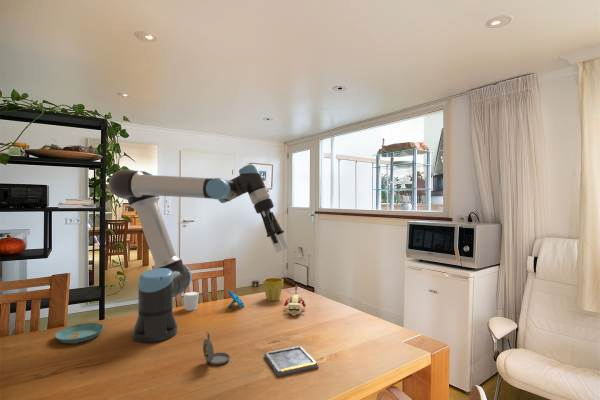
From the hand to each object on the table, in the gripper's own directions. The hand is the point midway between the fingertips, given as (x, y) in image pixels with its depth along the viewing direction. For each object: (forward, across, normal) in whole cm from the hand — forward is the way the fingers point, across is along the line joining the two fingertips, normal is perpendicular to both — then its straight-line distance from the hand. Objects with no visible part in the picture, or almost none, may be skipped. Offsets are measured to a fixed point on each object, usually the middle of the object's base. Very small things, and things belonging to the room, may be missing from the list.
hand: (283, 250), depth 128 cm
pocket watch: (+23, -26, +29) cm, 45 cm away
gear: (+15, +25, +36) cm, 46 cm away
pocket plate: (+33, -23, +8) cm, 41 cm away
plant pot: (+20, +40, +22) cm, 50 cm away
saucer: (-1, -16, +78) cm, 80 cm away
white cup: (+7, +19, +54) cm, 58 cm away
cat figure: (+27, +28, +11) cm, 40 cm away
